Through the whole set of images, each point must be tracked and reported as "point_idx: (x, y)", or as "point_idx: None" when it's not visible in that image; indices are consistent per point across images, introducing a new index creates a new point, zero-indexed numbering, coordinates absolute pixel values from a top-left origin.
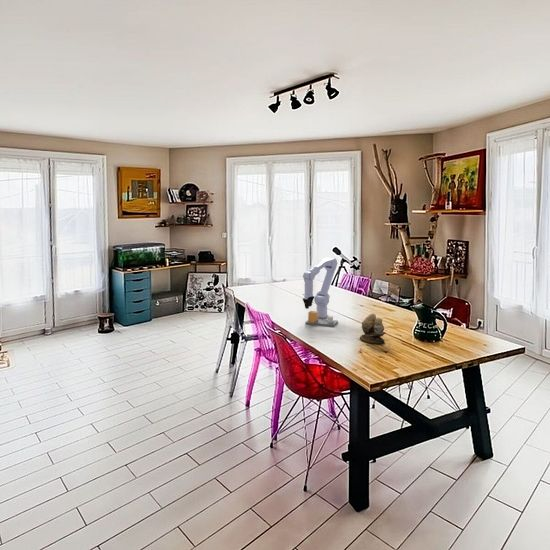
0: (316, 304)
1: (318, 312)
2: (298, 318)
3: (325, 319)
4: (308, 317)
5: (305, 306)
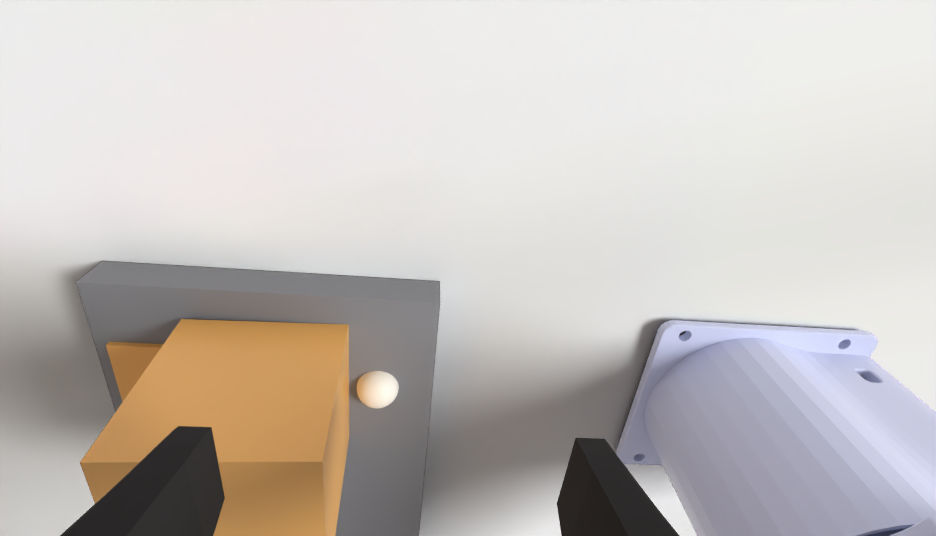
0: (901, 532)
1: (696, 433)
2: (530, 17)
3: (419, 509)
4: (150, 367)
5: (120, 497)
